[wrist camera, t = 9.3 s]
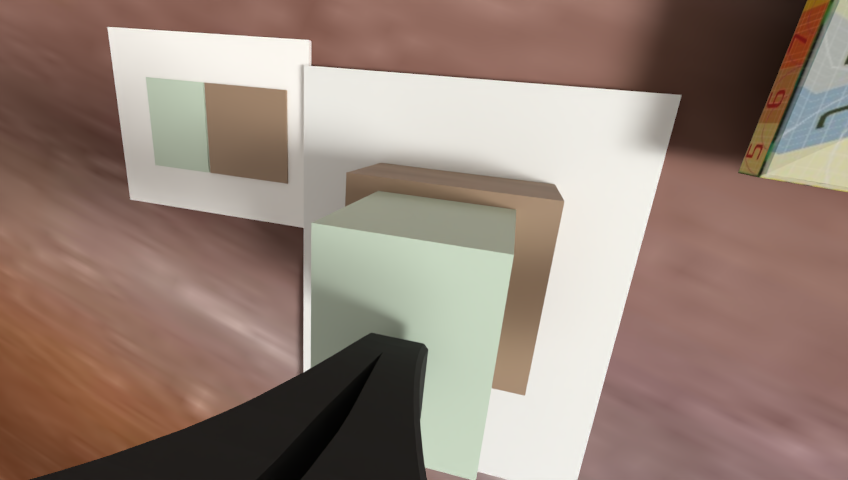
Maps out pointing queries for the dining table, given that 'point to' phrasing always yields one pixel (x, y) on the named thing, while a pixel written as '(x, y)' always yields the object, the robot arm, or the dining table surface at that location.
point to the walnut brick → (531, 249)
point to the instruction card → (213, 121)
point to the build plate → (522, 160)
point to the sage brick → (420, 302)
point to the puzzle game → (807, 105)
